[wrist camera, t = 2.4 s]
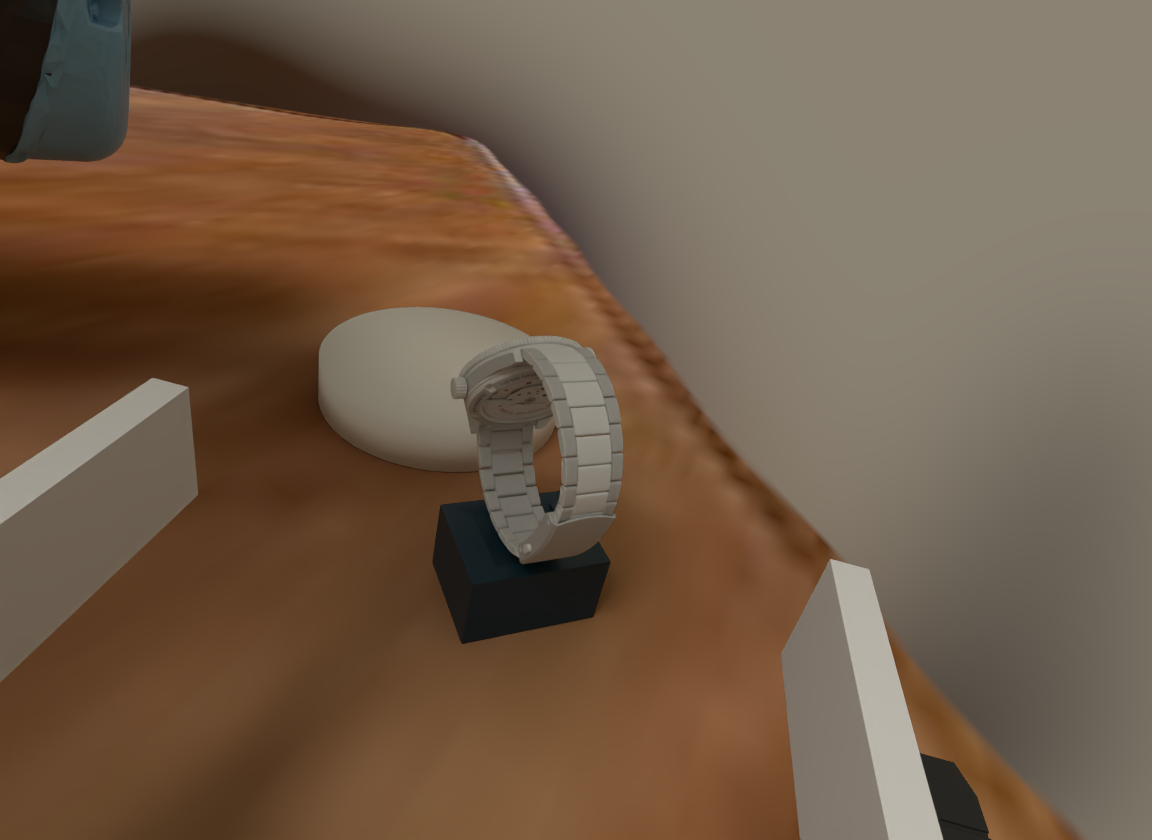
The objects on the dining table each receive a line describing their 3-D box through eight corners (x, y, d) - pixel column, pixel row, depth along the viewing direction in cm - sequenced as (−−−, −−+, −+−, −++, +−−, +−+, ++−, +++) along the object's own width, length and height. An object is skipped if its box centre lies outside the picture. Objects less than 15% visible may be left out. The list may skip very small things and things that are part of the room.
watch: (537, 515, 34) (587, 301, 28) (611, 651, 28) (694, 417, 22) (419, 530, 31) (446, 299, 26) (473, 683, 26) (525, 429, 20)
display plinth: (261, 402, 37) (260, 359, 35) (413, 323, 47) (417, 288, 46) (481, 508, 33) (488, 465, 32) (591, 397, 44) (600, 362, 43)
